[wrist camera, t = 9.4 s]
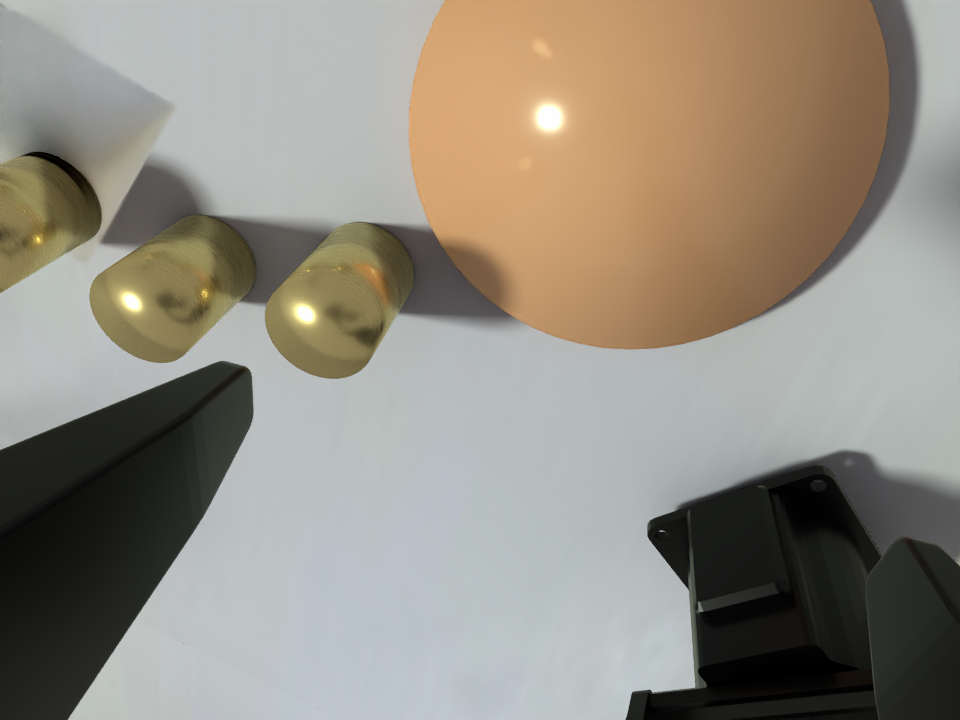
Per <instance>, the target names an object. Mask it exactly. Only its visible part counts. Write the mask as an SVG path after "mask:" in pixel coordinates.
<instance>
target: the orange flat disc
mask: <svg viewBox="0 0 960 720" xmlns="http://www.w3.org/2000/svg"><path fill="white" fill-rule="evenodd" d="M889 109H890V88H889V68H888V62H887V56H886V50H885V43H884V38H883V35H882V32H881V29H880V26H879V23H878V20H877V17H876V14H875V11H874V8H873V5H872V3H871V1H870V0H445V2H444V4H443V5H442V7H441V9H440V11H439V12H438V14H437V16H436V18H435V19H434V22H433V24H432V27H431V29H430V31H429V34H428V36H427V39H426V41H425V43H424V46H423V48H422V51H421V55H420V59H419V62H418V66H417V70H416V73H415V77H414V81H413V88H412V95H411V102H410V109H409V145H410V154H411V163H412V170H413V174H414V178H415V183H416V187H417V191H418V195H419V198H420V200H421V203H422V206H423V209H424V211H425V214H426V217H427V219H428V221H429V223H430V225H431V227H432V229H433V231H434V233H435V235H436V237H437V239H438V241H439V243H440V244H441V246H442V247H443V249H444V250H445V252H446V253H447V255H448V256H449V258H450V259H451V260H452V262H453V263H454V265H455V266H456V267H457V268H458V269H459V271H460V272H461V273H462V274H463V275H464V276H465V277H466V279H467V280H468V281H469V282H470V283H471V284H472V285H473V286H474V287H475V288H476V289H477V290H478V291H480V292H481V293H482V294H483V295H484V296H485V297H486V298H487V299H488V300H490V301H491V302H492V303H494V304H495V305H497V306H498V307H499V308H501V309H502V310H504V311H505V312H506V313H508V314H509V315H511V316H513V317H514V318H516V319H518V320H520V321H522V322H523V323H525V324H527V325H529V326H531V327H533V328H535V329H538V330H540V331H542V332H545V333H547V334H550V335H552V336H555V337H558V338H561V339H565V340H568V341H572V342H575V343H579V344H585V345H590V346H596V347H602V348H615V349H649V348H660V347H667V346H673V345H680V344H685V343H688V342H692V341H696V340H700V339H703V338H707V337H710V336H713V335H715V334H718V333H720V332H723V331H726V330H728V329H731V328H733V327H736V326H738V325H740V324H742V323H743V322H745V321H747V320H749V319H751V318H753V317H755V316H757V315H759V314H761V313H762V312H764V311H765V310H767V309H768V308H770V307H771V306H773V305H774V304H776V303H777V302H779V301H780V300H782V299H783V298H785V297H786V296H787V295H788V294H790V293H791V292H792V291H793V290H794V289H796V288H797V287H798V286H799V285H800V284H802V283H803V282H804V281H805V280H806V279H808V278H809V276H810V275H811V274H812V273H813V272H814V271H815V270H816V269H817V268H818V267H819V266H820V265H821V264H822V263H823V262H824V261H825V260H826V259H827V258H828V257H829V255H830V254H831V253H832V251H833V250H834V249H835V247H836V246H837V245H838V243H839V242H840V241H841V239H842V238H843V237H844V235H845V234H846V233H847V231H848V230H849V228H850V226H851V225H852V223H853V221H854V219H855V218H856V216H857V214H858V212H859V211H860V209H861V207H862V205H863V204H864V202H865V199H866V197H867V194H868V192H869V190H870V187H871V185H872V182H873V180H874V178H875V175H876V173H877V169H878V166H879V162H880V158H881V155H882V151H883V147H884V144H885V140H886V132H887V124H888V117H889Z"/></svg>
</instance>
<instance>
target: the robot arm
mask: <svg viewBox="0 0 960 720" xmlns="http://www.w3.org/2000/svg"><path fill="white" fill-rule="evenodd" d="M252 419H253V390H252V375H251V372H250V370H249V369H248V368H247V367H245V366H242V365H238V364H234V363H230V362H226V361H219V362H216V363H213V364H211V365H208V366H206V367H204V368H201V369H199V370H196V371H194V372H191V373H189V374H186V375H184V376H181V377H179V378H176V379H174V380H171V381H169V382H167V383H164V384H162V385H159V386H157V387H154V388H152V389H149V390H147V391H144V392H142V393H139V394H137V395H135V396H132V397H130V398H127V399H125V400H122V401H120V402H117V403H115V404H112V405H110V406H107V407H105V408H103V409H100V410H98V411H95V412H93V413H90V414H88V415H85V416H83V417H80V418H78V419H75V420H73V421H70V422H68V423H66V424H63V425H61V426H58V427H56V428H53V429H51V430H48V431H46V432H43V433H41V434H38V435H36V436H34V437H31V438H29V439H26V440H24V441H21V442H19V443H16V444H14V445H11V446H9V447H6V448H4V449H1V450H0V720H68V718H69V717H70V715H71V714H72V712H73V711H74V709H75V708H76V706H77V705H78V703H79V702H80V700H81V699H82V698H83V696H84V695H85V693H86V692H87V690H88V689H89V687H90V686H91V684H92V683H93V681H94V680H95V678H96V677H97V675H98V674H99V672H100V671H101V669H102V668H103V666H104V665H105V663H106V662H107V660H108V659H109V657H110V656H111V654H112V653H113V651H114V650H115V648H116V647H117V645H118V644H119V642H120V641H121V639H122V638H123V636H124V635H125V633H126V632H127V630H128V629H129V627H130V626H131V624H132V623H133V621H134V620H135V618H136V617H137V616H138V614H139V613H140V611H141V610H142V608H143V607H144V605H145V604H146V602H147V601H148V599H149V598H150V596H151V595H152V593H153V592H154V590H155V589H156V587H157V586H158V584H159V583H160V581H161V580H162V578H163V577H164V575H165V574H166V572H167V571H168V569H169V568H170V566H171V565H172V563H173V562H174V560H175V559H176V557H177V556H178V554H179V553H180V551H181V550H182V548H183V547H184V545H185V544H186V542H187V541H188V539H189V538H190V536H191V535H192V534H193V532H194V531H195V529H196V527H197V526H198V524H199V523H200V521H201V519H202V518H203V516H204V515H205V513H206V511H207V509H208V507H209V505H210V504H211V502H212V500H213V498H214V496H215V494H216V492H217V490H218V488H219V486H220V484H221V483H222V481H223V479H224V477H225V475H226V473H227V471H228V469H229V467H230V465H231V463H232V461H233V459H234V457H235V455H236V453H237V451H238V450H239V448H240V446H241V444H242V442H243V440H244V438H245V436H246V434H247V432H248V430H249V428H250V426H251V423H252ZM815 480H823V481H821V482H819V483H812V482H813V481H815ZM660 530H663V531H665V532H659V531H660ZM647 536H648V538H649V540H650V541H651V542H652V544H653V545H654V546H655V547H656V549H657V550H658V551H659V553H660V554H661V555H662V556H663V558H664V559H665V560H666V562H667V563H668V564H669V565H670V567H671V568H672V569H673V570H674V572H675V573H676V574H677V576H678V577H679V578H680V579H681V581H682V582H683V583H684V584H685V586H686V587H687V588H688V590H689V597H690V612H691V627H692V642H693V657H694V673H695V688H690V689H681V690H672V691H663V692H654V693H652V691H651V690H644V691H635V692H632V695H631V700H630V705H629V709H628V714H627V717H626V720H960V566H959V565H958V564H957V563H956V562H955V561H954V560H953V559H952V558H951V557H950V556H949V555H948V554H947V553H946V552H945V551H944V550H942V549H941V548H940V547H939V546H938V545H936V544H934V543H931V542H927V541H923V540H920V539H916V538H912V537H900V538H898V539H897V540H896V541H895V542H894V543H893V544H892V545H891V546H890V548H889V549H888V550H887V552H886V553H885V554H884V555H883V556H882V554H881V553H880V551H879V549H878V548H877V546H876V544H875V543H874V541H873V539H872V538H871V536H870V534H869V533H868V531H867V530H866V528H865V526H864V525H863V523H862V521H861V520H860V518H859V516H858V515H857V513H856V511H855V510H854V508H853V506H852V505H851V503H850V501H849V500H848V498H847V496H846V495H845V493H844V491H843V490H842V488H841V486H840V485H839V483H838V481H837V480H836V478H835V476H834V475H833V473H832V472H831V471H830V470H829V469H828V468H826V467H823V466H811V467H807V468H804V469H801V470H798V471H795V472H792V473H789V474H786V475H783V476H780V477H777V478H774V479H771V480H768V481H765V482H762V483H759V484H756V485H753V486H750V487H747V488H744V489H741V490H738V491H735V492H732V493H729V494H726V495H723V496H720V497H717V498H714V499H711V500H708V501H705V502H702V503H699V504H696V505H693V506H690V507H687V508H684V509H681V510H678V511H675V512H672V513H668V514H665V515H662V516H659V517H656V518H654V519H652V520H650V522H649V523H648V527H647Z"/></svg>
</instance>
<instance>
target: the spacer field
mask: <svg viewBox="0 0 960 720" xmlns="http://www.w3.org/2000/svg"><path fill="white" fill-rule="evenodd" d="M100 225H101V208H100V204H99V201H98V198H97V196H96V194H95V192H94V190H93V188H92V187H91V185H90V183H89V182H88V181H87V179H86V178H85V177H84V176H83V175H82V174H81V173H80V172H79V171H78V170H77V169H76V168H75V167H74V166H72V165H71V164H70V163H68V162H67V161H65V160H64V159H62V158H60V157H58V156H56V155H53V154H50V153H47V152H30V153H27V154H24V155H22V156H19V157H17V158H14V159H12V160H9V161H7V162H4V163H2V164H0V293H1V292H3V291H5V290H6V289H8V288H10V287H11V286H13V285H15V284H16V283H18V282H20V281H21V280H23V279H25V278H26V277H28V276H30V275H31V274H33V273H35V272H36V271H38V270H40V269H41V268H43V267H44V266H46V265H48V264H49V263H51V262H53V261H54V260H56V259H58V258H59V257H61V256H63V255H64V254H66V253H68V252H69V251H71V250H73V249H74V248H76V247H78V246H79V245H81V244H83V243H84V242H86V241H88V240H89V239H91V238H92V237H94V236H95V235H96V233H97V232H98V230H99V228H100ZM255 277H256V267H255V261H254V258H253V255H252V253H251V251H250V249H249V247H248V245H247V244H246V242H245V241H244V240H243V238H242V237H241V236H240V235H239V234H238V233H237V232H236V231H235V230H234V229H232V228H231V227H230V226H228V225H227V224H225V223H224V222H222V221H220V220H218V219H215V218H213V217H209V216H204V215H191V216H187V217H184V218H182V219H180V220H179V221H177V222H176V223H174V224H173V225H171V226H170V227H168V228H167V229H165V230H164V231H163V232H161V233H160V234H158V235H157V236H155V237H154V238H152V239H151V240H149V241H148V242H146V243H145V244H143V245H142V246H140V247H139V248H137V249H136V250H134V251H133V252H131V253H130V254H128V255H127V256H125V257H124V258H123V259H121V260H120V261H118V262H117V263H115V264H114V265H112V266H111V267H109V268H108V269H106V270H105V271H103V272H102V273H100V274H99V275H98V276H97V277H96V278H95V279H94V281H93V283H92V285H91V288H90V305H91V308H92V312H93V314H94V317H95V319H96V320H97V322H98V324H99V325H100V327H101V328H102V330H103V331H104V332H105V333H106V335H107V336H108V337H109V338H110V339H111V340H112V341H113V342H114V343H115V344H117V345H118V346H119V347H120V348H122V349H123V350H125V351H126V352H128V353H130V354H132V355H133V356H135V357H138V358H140V359H143V360H146V361H150V362H156V363H167V362H172V361H175V360H177V359H179V358H181V357H182V356H183V355H184V354H185V353H186V352H187V351H189V350H190V349H191V348H192V347H193V346H194V345H195V344H196V343H197V342H198V341H199V340H200V339H201V338H202V337H203V336H204V335H205V334H206V333H207V332H208V331H209V330H210V329H211V328H212V327H213V326H214V325H215V324H216V323H217V322H218V321H219V320H220V319H221V318H222V317H223V316H224V315H225V314H226V313H227V312H229V311H230V310H231V309H232V308H233V307H234V306H235V305H236V304H237V303H238V302H239V301H240V300H241V299H242V298H243V297H244V296H245V295H246V294H247V293H248V292H249V291H250V289H251V288H252V286H253V284H254V281H255ZM413 284H414V267H413V263H412V260H411V257H410V255H409V253H408V251H407V250H406V248H405V247H404V245H403V244H402V243H401V242H400V241H399V240H398V239H397V238H396V237H395V236H394V235H392V234H391V233H390V232H388V231H387V230H385V229H383V228H381V227H379V226H376V225H373V224H369V223H360V222H356V223H349V224H345V225H343V226H340V227H338V228H337V229H335V230H334V231H333V232H332V233H330V234H329V235H328V237H327V238H326V239H325V240H324V241H323V242H322V243H321V244H320V245H319V246H318V247H317V248H316V249H315V250H314V251H313V252H312V253H311V254H310V255H309V256H308V257H307V258H306V259H305V261H304V262H303V263H302V264H301V265H300V266H299V267H298V268H297V269H296V270H295V271H294V272H293V273H292V274H291V275H290V276H289V277H288V278H287V279H286V280H285V281H284V282H283V283H282V284H281V286H280V287H279V288H278V289H277V290H276V291H275V292H274V293H273V294H272V295H271V297H270V299H269V301H268V303H267V306H266V311H265V322H266V327H267V331H268V334H269V336H270V338H271V340H272V342H273V344H274V345H275V347H276V348H277V350H278V351H279V352H280V353H281V354H282V355H283V356H284V357H285V358H286V359H287V360H288V361H289V362H290V363H292V364H293V365H294V366H296V367H297V368H299V369H301V370H303V371H304V372H307V373H309V374H311V375H315V376H318V377H323V378H331V379H337V378H345V377H348V376H351V375H354V374H356V373H357V372H359V371H360V370H362V369H363V368H364V367H365V366H366V365H367V363H368V362H369V361H370V359H371V357H372V356H373V354H374V352H375V351H376V349H377V347H378V346H379V344H380V342H381V341H382V339H383V337H384V336H385V334H386V332H387V331H388V329H389V327H390V326H391V324H392V322H393V321H394V319H395V318H396V316H397V314H398V313H399V311H400V309H401V308H402V306H403V304H404V303H405V301H406V299H407V298H408V296H409V294H410V292H411V290H412V288H413Z"/></svg>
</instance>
